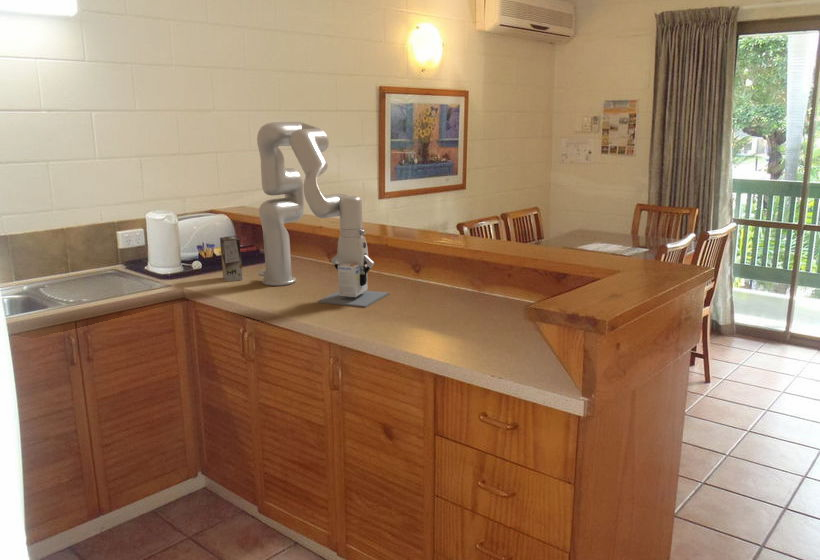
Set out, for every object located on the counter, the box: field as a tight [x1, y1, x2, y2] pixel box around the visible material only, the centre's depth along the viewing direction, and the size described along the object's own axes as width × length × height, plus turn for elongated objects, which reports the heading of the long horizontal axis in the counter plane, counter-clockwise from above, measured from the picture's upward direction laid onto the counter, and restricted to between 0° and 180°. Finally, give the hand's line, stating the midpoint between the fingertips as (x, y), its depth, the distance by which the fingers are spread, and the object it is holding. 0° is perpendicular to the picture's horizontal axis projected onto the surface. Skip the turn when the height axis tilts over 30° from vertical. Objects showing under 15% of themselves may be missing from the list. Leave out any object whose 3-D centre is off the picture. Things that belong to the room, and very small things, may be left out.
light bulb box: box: [337, 264, 369, 297], centre depth 235 cm, size 11×7×11 cm, turn 161°
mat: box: [317, 290, 389, 309], centre depth 236 cm, size 18×18×1 cm
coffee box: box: [219, 235, 244, 282], centre depth 266 cm, size 9×6×16 cm
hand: (353, 283), depth 235 cm, fingers closed on light bulb box, 7 cm apart
